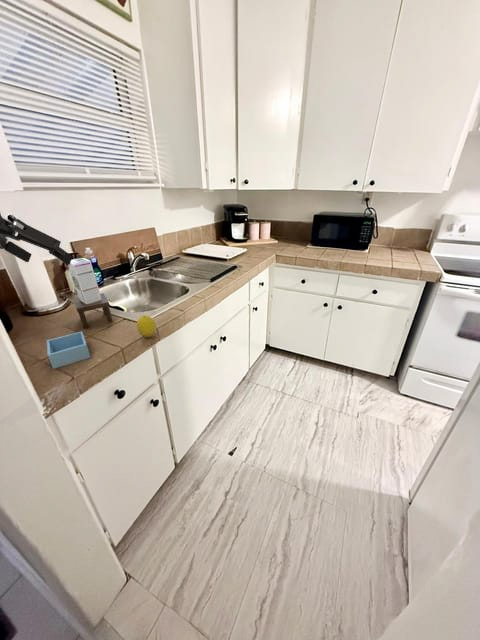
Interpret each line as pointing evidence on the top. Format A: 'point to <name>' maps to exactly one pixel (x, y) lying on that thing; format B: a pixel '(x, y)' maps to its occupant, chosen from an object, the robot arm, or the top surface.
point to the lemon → (146, 326)
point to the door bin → (67, 349)
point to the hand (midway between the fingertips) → (49, 259)
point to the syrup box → (84, 280)
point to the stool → (86, 307)
